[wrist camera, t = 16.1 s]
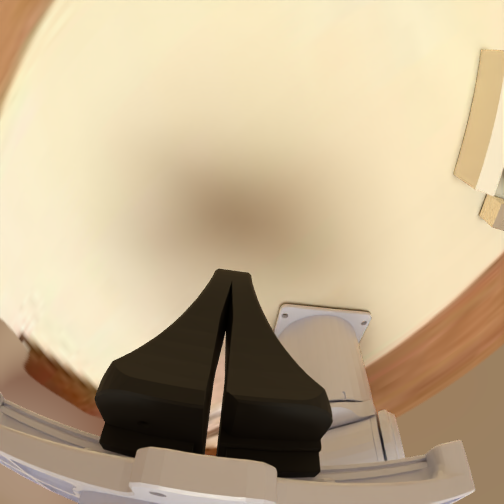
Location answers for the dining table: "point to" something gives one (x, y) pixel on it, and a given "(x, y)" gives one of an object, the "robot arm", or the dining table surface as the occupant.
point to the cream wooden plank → (493, 212)
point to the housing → (485, 127)
